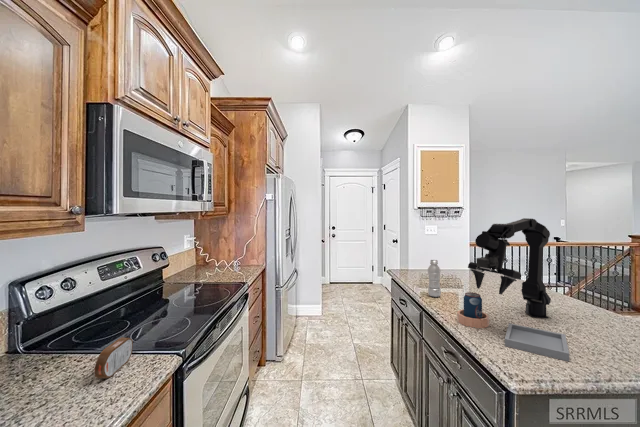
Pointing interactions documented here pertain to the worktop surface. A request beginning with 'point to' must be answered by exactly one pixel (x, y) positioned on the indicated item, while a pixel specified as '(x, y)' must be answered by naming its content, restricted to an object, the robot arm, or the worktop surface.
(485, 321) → the ring holder
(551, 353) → the tray
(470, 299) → the soda can
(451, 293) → the worktop surface
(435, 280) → the plastic bottle
